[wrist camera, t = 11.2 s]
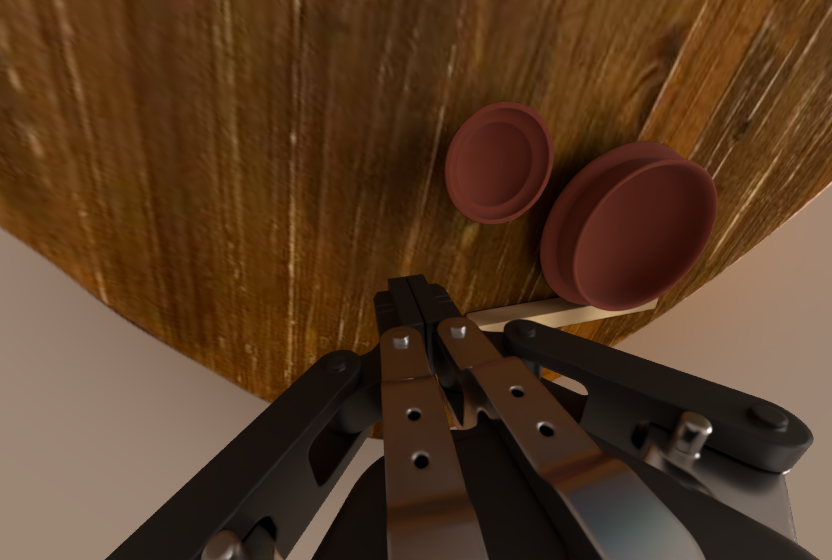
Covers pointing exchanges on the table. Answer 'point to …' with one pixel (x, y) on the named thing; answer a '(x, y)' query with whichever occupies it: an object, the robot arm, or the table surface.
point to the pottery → (587, 206)
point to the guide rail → (545, 313)
